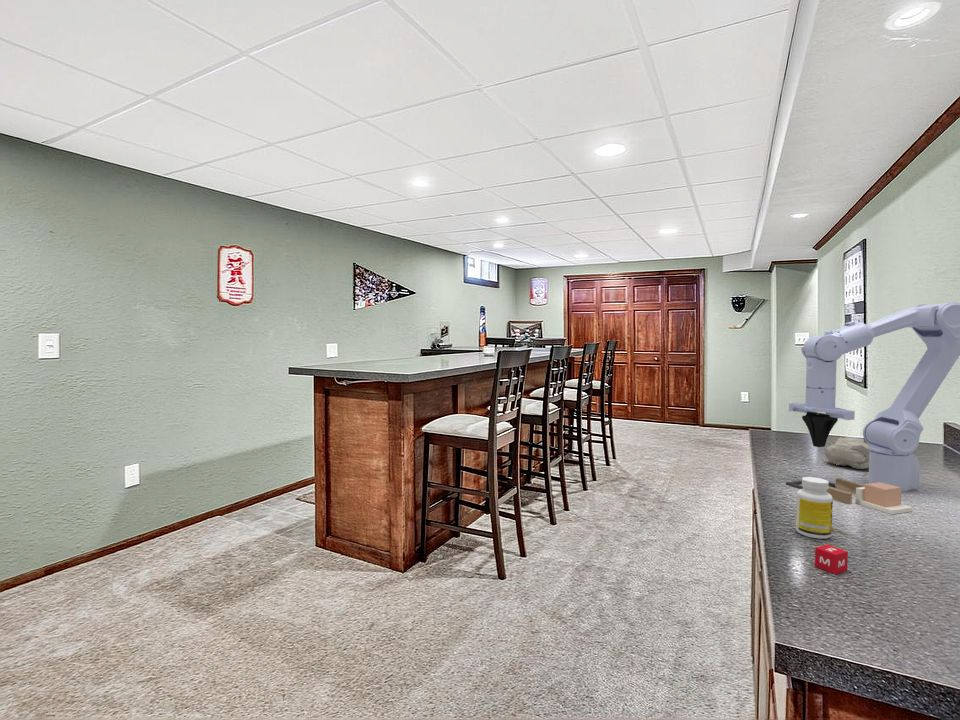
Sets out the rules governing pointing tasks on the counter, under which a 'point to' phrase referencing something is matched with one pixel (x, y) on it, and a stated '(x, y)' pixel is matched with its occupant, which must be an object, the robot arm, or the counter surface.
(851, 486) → the track
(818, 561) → the red letter cube
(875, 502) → the block
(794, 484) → the pit
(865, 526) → the counter surface
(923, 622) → the counter surface
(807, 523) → the supplement bottle
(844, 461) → the fossil replica
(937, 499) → the counter surface
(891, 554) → the counter surface
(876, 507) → the cream low channel
